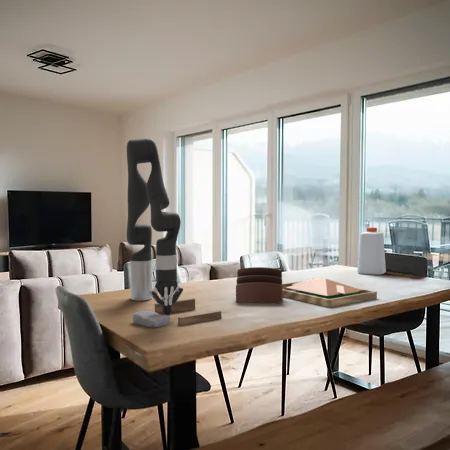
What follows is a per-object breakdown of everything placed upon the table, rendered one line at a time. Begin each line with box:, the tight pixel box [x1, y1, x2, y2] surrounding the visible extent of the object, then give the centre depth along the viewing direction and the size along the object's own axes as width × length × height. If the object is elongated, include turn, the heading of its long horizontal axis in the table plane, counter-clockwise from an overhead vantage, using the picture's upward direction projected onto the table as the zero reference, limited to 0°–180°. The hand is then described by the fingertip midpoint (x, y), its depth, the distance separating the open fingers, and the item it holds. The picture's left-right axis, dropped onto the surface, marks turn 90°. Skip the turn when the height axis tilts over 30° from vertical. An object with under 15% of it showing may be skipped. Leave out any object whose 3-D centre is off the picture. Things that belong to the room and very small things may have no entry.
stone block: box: [132, 310, 171, 329], centre depth 155 cm, size 12×5×10 cm
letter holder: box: [235, 266, 284, 304], centre depth 192 cm, size 10×20×14 cm, turn 84°
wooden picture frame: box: [282, 280, 378, 308], centre depth 203 cm, size 40×30×3 cm
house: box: [286, 277, 362, 299], centre depth 204 cm, size 23×33×8 cm
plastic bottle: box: [356, 226, 387, 276], centre depth 271 cm, size 15×15×28 cm
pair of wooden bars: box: [154, 297, 222, 326], centre depth 164 cm, size 20×17×4 cm
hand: (166, 315), depth 160 cm, fingers closed
